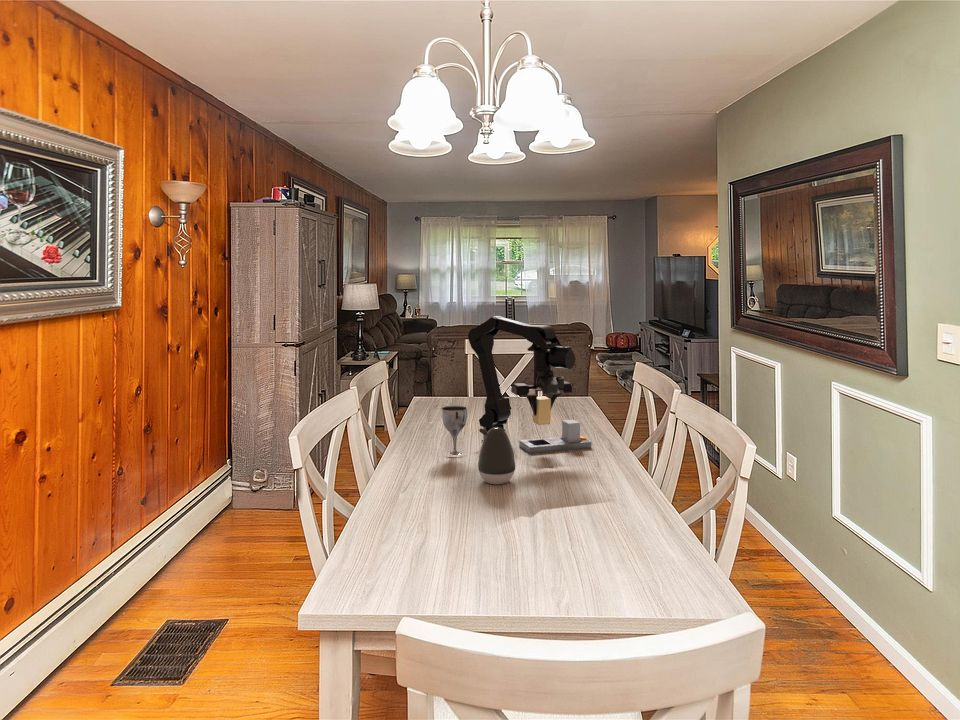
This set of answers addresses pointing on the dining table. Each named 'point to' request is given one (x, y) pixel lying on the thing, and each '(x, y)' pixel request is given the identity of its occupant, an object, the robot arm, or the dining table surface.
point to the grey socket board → (552, 445)
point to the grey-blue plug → (570, 431)
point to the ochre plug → (542, 411)
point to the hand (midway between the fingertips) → (541, 414)
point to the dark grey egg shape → (496, 457)
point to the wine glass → (454, 422)
